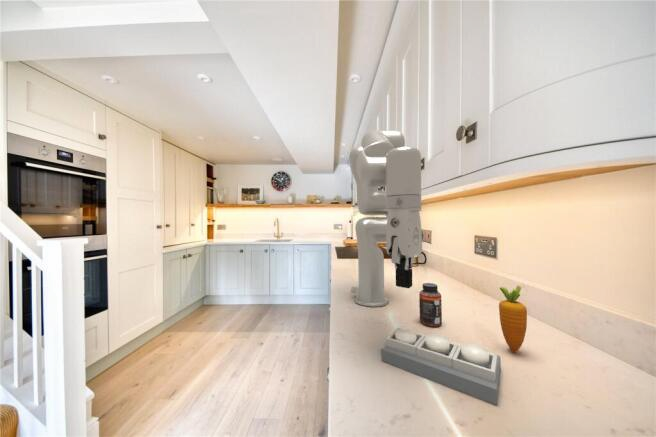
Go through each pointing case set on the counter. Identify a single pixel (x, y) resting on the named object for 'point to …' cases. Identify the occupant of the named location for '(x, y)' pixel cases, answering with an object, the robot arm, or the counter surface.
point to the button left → (406, 336)
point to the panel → (445, 367)
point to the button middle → (437, 343)
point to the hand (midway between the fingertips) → (404, 286)
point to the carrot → (513, 319)
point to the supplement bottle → (430, 305)
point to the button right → (475, 354)
